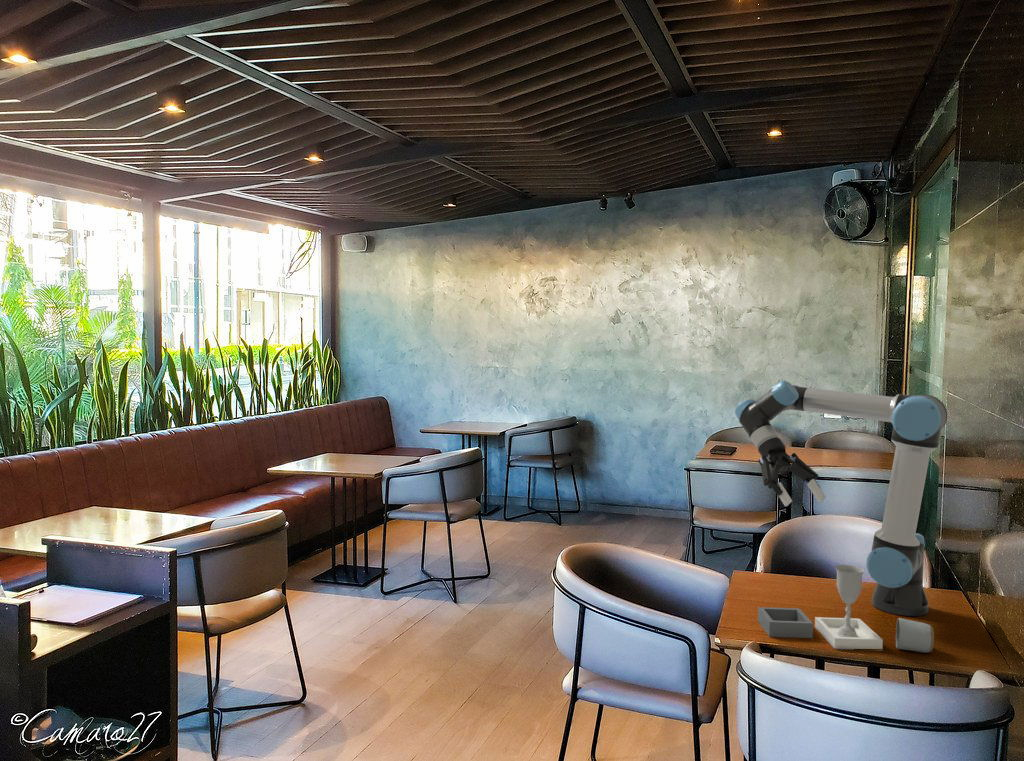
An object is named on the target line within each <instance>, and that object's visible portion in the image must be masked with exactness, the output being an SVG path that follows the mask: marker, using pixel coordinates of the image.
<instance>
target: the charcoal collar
mask: <svg viewBox="0 0 1024 761" xmlns="http://www.w3.org/2000/svg"><path fill="white" fill-rule="evenodd" d="M757 622H758V623H759V625H760V626H761V627H762V629H763V630H764V631H765V633H766V634H767V635H768V637H771V638H772V637H773V638H796V639H797V638H798V639H799V638H801V639H813V637H814V636H813V635H814V623H813V622H812V620H811V619H810V618H809V617H808V616H807V615H806V614H805V613H804V612H803V611H802V609H801V608H796V607H794V608H793V607H791V608H790V607H763V606H762V607H761V606H758V607H757Z"/></svg>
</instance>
